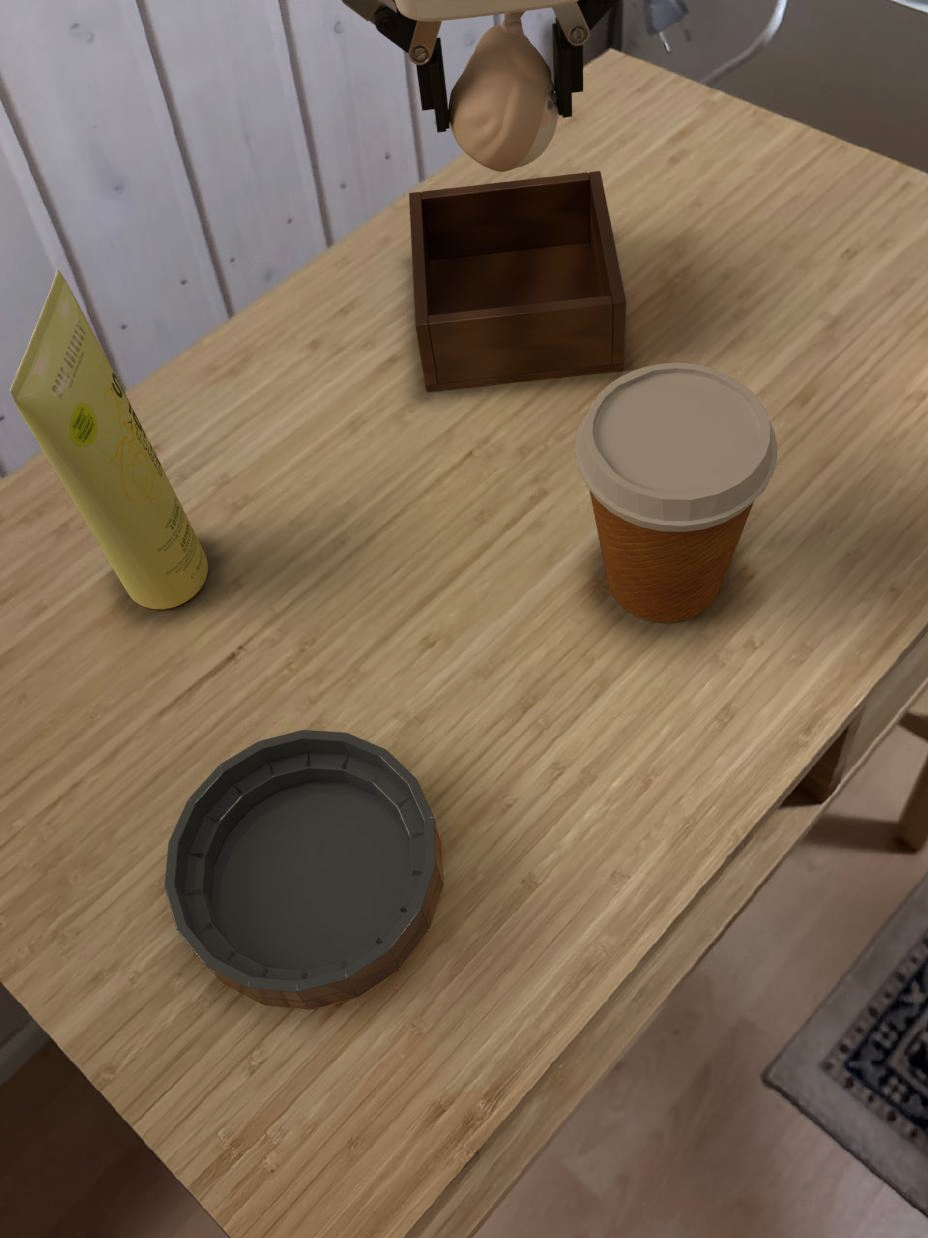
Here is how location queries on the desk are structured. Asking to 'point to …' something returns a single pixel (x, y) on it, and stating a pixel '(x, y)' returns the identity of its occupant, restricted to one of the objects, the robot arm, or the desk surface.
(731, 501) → the disposable coffee cup
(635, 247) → the desk surface
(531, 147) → the garlic bulb
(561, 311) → the holder
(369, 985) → the bowl
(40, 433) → the tube
